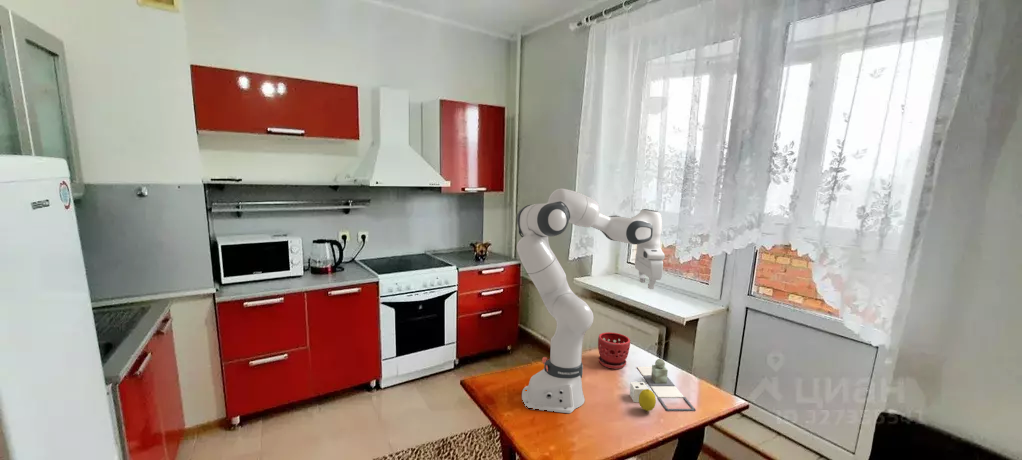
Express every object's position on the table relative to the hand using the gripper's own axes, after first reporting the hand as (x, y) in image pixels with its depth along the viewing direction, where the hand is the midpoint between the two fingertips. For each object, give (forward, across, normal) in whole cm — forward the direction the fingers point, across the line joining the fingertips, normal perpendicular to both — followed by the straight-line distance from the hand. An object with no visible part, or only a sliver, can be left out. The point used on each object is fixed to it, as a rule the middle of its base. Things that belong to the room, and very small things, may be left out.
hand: (646, 285), depth 160 cm
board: (+37, +10, +5) cm, 39 cm away
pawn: (+37, +6, +5) cm, 38 cm away
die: (+37, +18, -7) cm, 42 cm away
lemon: (+37, +26, -7) cm, 46 cm away
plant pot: (+37, -9, -9) cm, 39 cm away
